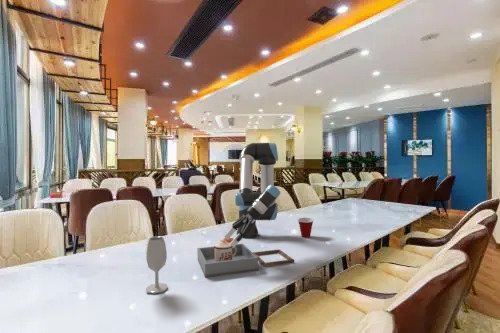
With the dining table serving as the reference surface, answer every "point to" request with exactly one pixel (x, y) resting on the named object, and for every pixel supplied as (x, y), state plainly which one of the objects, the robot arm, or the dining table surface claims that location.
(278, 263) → the brown wooden frame
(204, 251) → the bus tub
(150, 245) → the wineglass
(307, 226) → the plastic cup
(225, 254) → the teacup with lid
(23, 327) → the dining table surface
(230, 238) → the hamburger
